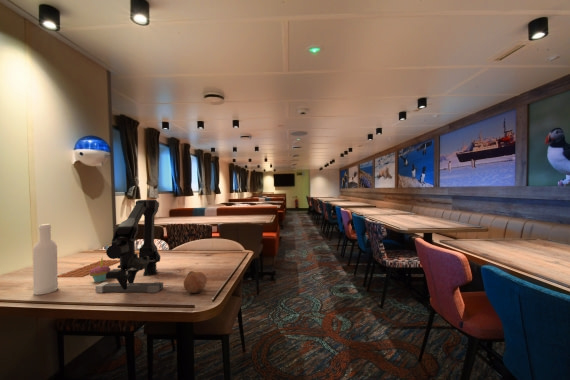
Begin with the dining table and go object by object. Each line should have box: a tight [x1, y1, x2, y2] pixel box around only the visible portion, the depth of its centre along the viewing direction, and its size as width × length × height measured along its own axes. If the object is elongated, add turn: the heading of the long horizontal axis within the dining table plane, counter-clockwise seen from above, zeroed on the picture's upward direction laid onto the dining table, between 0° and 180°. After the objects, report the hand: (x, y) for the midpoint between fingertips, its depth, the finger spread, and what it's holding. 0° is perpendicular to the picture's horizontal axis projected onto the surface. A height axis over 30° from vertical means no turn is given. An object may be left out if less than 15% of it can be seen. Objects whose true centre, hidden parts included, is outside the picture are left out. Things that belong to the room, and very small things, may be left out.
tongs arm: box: [109, 281, 164, 291], centre depth 109 cm, size 24×2×3 cm, turn 88°
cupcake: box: [89, 257, 112, 283], centre depth 121 cm, size 9×8×12 cm
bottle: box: [32, 223, 59, 296], centre depth 108 cm, size 8×8×30 cm
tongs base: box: [94, 281, 161, 294], centre depth 107 cm, size 28×5×3 cm, turn 88°
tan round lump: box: [183, 270, 208, 294], centre depth 105 cm, size 10×9×10 cm
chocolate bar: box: [57, 259, 120, 279], centre depth 141 cm, size 14×30×1 cm, turn 177°
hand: (128, 287), depth 108 cm, fingers open, 3 cm apart
